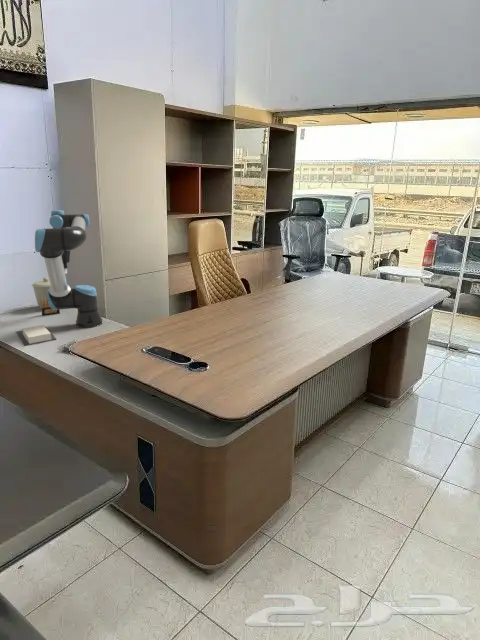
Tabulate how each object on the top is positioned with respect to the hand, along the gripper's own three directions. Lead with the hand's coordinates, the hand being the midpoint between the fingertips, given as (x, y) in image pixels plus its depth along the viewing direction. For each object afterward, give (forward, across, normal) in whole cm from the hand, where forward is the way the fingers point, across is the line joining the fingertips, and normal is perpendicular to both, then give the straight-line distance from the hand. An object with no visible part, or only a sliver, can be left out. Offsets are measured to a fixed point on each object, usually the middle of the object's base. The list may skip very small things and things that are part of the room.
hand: (64, 273), depth 278 cm
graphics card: (+27, -55, +49) cm, 78 cm away
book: (+24, -12, +39) cm, 47 cm away
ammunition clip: (+27, +9, +7) cm, 29 cm away
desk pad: (+26, -17, +42) cm, 52 cm away
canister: (+27, +23, -5) cm, 36 cm away
